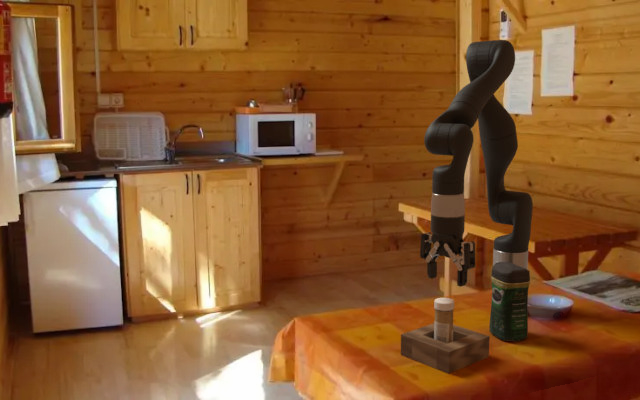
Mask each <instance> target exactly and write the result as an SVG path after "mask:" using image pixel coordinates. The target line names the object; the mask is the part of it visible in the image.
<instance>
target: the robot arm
mask: <svg viewBox="0 0 640 400" xmlns="http://www.w3.org/2000/svg"><path fill="white" fill-rule="evenodd" d="M513 45H514V44H512V43H511V42H510V41H509V40H505V39H495V40H481V41H473V42H471V43H469V44H468V46H467V48H466V53H465V62H466V63H465V64H466V70H467V75H468V79H469V82H468V83H467V84H466V85H464V86H463V87H462V88H461V89H460V90H459V91H458V92H457V93H456V94H455V96H454V97H453V100H452V101H451V102H450V105H449V106H448V108H447V109H446V110H445V111H443V112H442V113H441V114H440V115H439V116H438V117H436V118H435V119H434V120H433V121H432V122H431V123H430V125H429V126H428V127H427V128H426V131H425V134H424V139H423V140H424V141H423V143H424V146H425V148H426V150H427V151H428V152H429V153H430V154H432V155H435V156H436V155H437V156H450V157H451V156H452V157H453V158H452V161H451V162H450V163H449V164H444V165H438V166H436V167H434V168H433V170H432V177H431V178H432V183H431V188H432V189H431V191H432V193H431V199H430V200H431V202H430V231H429V232H425V233H422V234H421V235H420V251H419V257H420V259H424V260H425V262H426V266H427V268H426V274H427V277H428V279H436V278H437V276H438V265H437V264H438V262H437V259H438V258H439V257H446V258H448V259H450V260H451V261H452V263H454V264H455V266H456V268H457V269H458V270H457V273H456V275H457V277H456V278H457V279H456V280H457V281H456V285H457V287H464V286H466V285H467V283H468V271H469V270H471V269H475V268H476V264H477V263H476V243H475V241H474V240H473V241H464V238H463V236H464V233H465V224H466V223H465V222H466V221H465V220H466V219H465V218H466V217H465V216H466V214H465V213H466V200H465V174H466V168H467V166H468V162H469V158H470V155H471V151H472V148H473V144H474V133H473V130H472V129H473V127H474V126H475V125H476V123H478V133H479V139H480V146H481V150H482V151H481V152H482V156H483V160H484V161H483V162H484V168H485V176H486V177H485V178H486V190H487V191H486V192H487V193H486V195H487V208H488V209H487V210H488V214H489V216H490V219H491V221H492V222H494V223H497V224H501V225H508V226H512V232H511V233H508V234H504V235H499V236H496V237H495V238H494V240H493V255H492V257H493V258H492V267H493V266H494V265H495V263H497V262H511V263H513V264H515V265H518V266H520V267H522V268H526V269H527V270H529V268H528V266H529V246H530V241H531V239H530V238H531V233H532V232H531V230H532V219H533V209H534V207H533V206H534V203H533V198H532V196H531V194H530V193H528V192H525V191H524V192H523V191H514V190H506V187H505V175H506V172H507V170H508V168H509V166H510V165H511V163H512V161H513V160H514V158H515V156H516V153H517V151H518V148H519V145H518V144H519V143H518V142H519V141H518V136H517V135H518V134H517V126H516V122H515V120H514V119H513V117H512V115H511V113H509V111H508V110H507V109H506V108H505V107H504V106H503V105H502V103H501V102H500V101H499V99H497V97H496V95H494V94H495V93H496V92H497V91H498V90H499V89H500V88H501V87H502V85H503V84H504V83H505V81H506V80H508V78H509V76H511V74H512V72H513V70H514V68H515V65H516V64H515V63H516V52H515V48H514V46H513ZM432 245H433V247H432Z"/></svg>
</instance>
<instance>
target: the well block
mask: <svg viewBox="0 0 640 400" xmlns="http://www.w3.org/2000/svg"><path fill="white" fill-rule="evenodd" d="M490 338H491V337H490V336H489V335H487V334H484V333H480V332H477V331H474V330H471V329H468V328H465V327H464V326H463V327H462V326H458V325H457V324H453V342H450V343H448V344H446V343H444V342H441V341H438V340H435V339H434V322H433V323H431V324H427V325H425V326H422V327H421V326H420V327H419V328H416V329H413V330H410V331H407V332H405V333H404V332H403V333H402V334H400V355H401V356H403V357H405V358H407V359H411V360H414V361H415V362H418V363H421V364H422V365H425V366H428V367H431V368H433V369H435V370H439V371H441V372H444V373H446V374H448V375H449V374H451V373H453V372H455V371H458V369H459V370H461V369H464V368H465V367H468V366H470V365H472V364H475V363H478V362H480V361H483V360H484V359H487V358H489V357H490ZM460 368H461V369H460Z"/></svg>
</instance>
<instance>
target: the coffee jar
mask: <svg viewBox="0 0 640 400" xmlns="http://www.w3.org/2000/svg"><path fill="white" fill-rule="evenodd" d="M530 272H531V271H530V270H529V269H528V270H527V269H526V268H522V267H520V266H518V265H515V264H513V263H511V262H497V263H495V265H494V266H493V265H492V267H491V274H490V275H491V276H490V277H491V278H490V279H491V302H490V303H491V305H490V314H489V315H490V316H489V317H490V318H489V327H488V328H489V332H490V333H491V334H492V335H493V336H494V337H496V338H498V339H500V340H502V341H505V342H506V341H509V342H510V341H511V342H520V341H523V340H525V339H527V338H528V335H529V333H528V332H529V326H528V325H529V324H528V323H529V322H528V321H529V319H528V315H529V314H528V311H529V310H528V309H529V308H528V307H529V306H528V304H529V303H528V302H529V301H528V300H529V299H528V298H529V288H530V285H531V279H530V278H531V275H530V274H531V273H530Z"/></svg>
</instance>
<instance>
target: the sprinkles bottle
mask: <svg viewBox="0 0 640 400" xmlns="http://www.w3.org/2000/svg"><path fill="white" fill-rule="evenodd" d="M433 303H434V304H433V308H434V322H433V323H434V339H435V340H438V341H441V342H444V343H446V344H448V343H450V342H453V325H454V309H455V300H454V299H452V298H449V297H438V298H435V299H434V302H433Z"/></svg>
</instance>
